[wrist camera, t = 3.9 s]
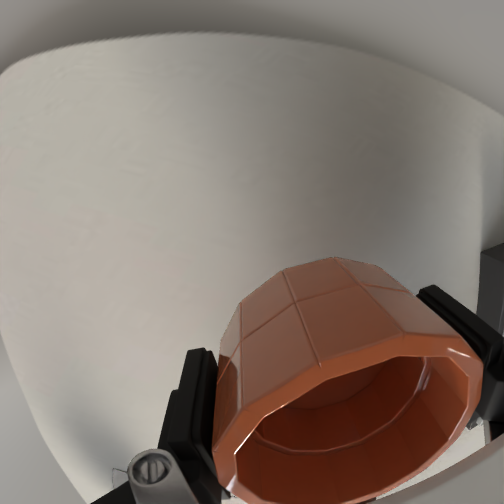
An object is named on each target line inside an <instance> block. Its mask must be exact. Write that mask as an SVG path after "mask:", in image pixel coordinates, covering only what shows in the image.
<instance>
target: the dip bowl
mask: <svg viewBox="0 0 504 504" xmlns="http://www.w3.org/2000/svg"><path fill="white" fill-rule="evenodd" d="M483 369H484V364H483V361H482V360H481V359H480V357H479V356H478V355H477V354H476V353H475V351H474V350H473V349H472V348H471V347H470V345H469V344H468V343H467V342H466V341H465V339H464V338H463V337H462V336H461V335H460V334H459V333H458V332H456V331H455V330H454V329H453V328H452V327H451V326H450V325H449V324H447V323H446V322H445V321H444V320H443V319H442V318H441V317H439V316H438V315H437V314H436V313H435V312H434V311H433V310H431V309H430V308H429V307H428V306H427V305H426V304H424V303H423V302H422V301H421V300H420V299H418V298H417V297H416V296H415V295H413V294H412V293H411V292H410V291H409V290H408V289H406V288H405V287H404V286H403V285H401V284H400V283H399V282H398V281H397V280H395V279H394V278H393V277H392V276H390V275H389V274H388V273H387V272H385V271H384V270H383V269H382V268H380V267H378V266H376V265H373V264H368V263H363V262H358V261H354V260H349V259H344V258H339V257H334V258H333V257H329V258H326V259H322V260H318V261H314V262H310V263H306V264H302V265H298V266H294V267H290V268H286V269H284V270H283V271H279V272H278V273H277V274H276V275H274V276H273V277H272V278H270V279H269V280H268V281H266V282H265V283H264V284H263V285H261V286H260V287H259V288H257V289H256V290H255V291H253V292H252V293H251V294H250V295H248V296H247V297H246V298H244V299H243V300H242V302H240V303H239V304H238V306H237V308H236V310H235V312H234V314H233V316H232V318H231V320H230V322H229V324H228V326H227V328H226V330H225V332H224V334H223V336H222V338H221V342H220V350H219V362H218V373H217V385H216V386H217V388H216V397H215V410H214V423H213V437H212V456H213V461H214V466H215V470H216V475H217V480H218V483H219V484H220V485H221V486H222V487H224V488H225V489H227V490H228V491H229V492H231V493H232V494H234V495H235V496H237V497H238V498H239V499H241V500H242V501H244V502H245V503H247V504H356V503H359V502H362V501H365V500H368V499H371V498H374V497H377V496H380V495H382V494H385V493H386V492H388V491H390V490H392V489H394V488H396V487H397V486H399V485H401V484H403V483H404V482H406V481H408V480H409V479H411V478H413V477H414V476H416V475H417V474H419V473H421V472H422V471H424V470H425V469H426V468H427V467H429V466H430V465H431V464H432V463H433V462H434V461H435V460H436V459H437V458H438V457H439V456H441V455H442V454H443V453H444V452H445V451H446V450H447V449H448V448H449V447H450V446H451V445H452V444H453V443H454V442H455V441H456V440H457V439H458V437H459V436H460V435H461V433H462V431H463V430H464V428H465V427H466V425H467V423H468V421H469V420H470V418H471V416H472V414H473V413H474V411H475V409H476V407H477V405H478V403H479V402H480V399H481V392H482V382H483Z"/></svg>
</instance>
